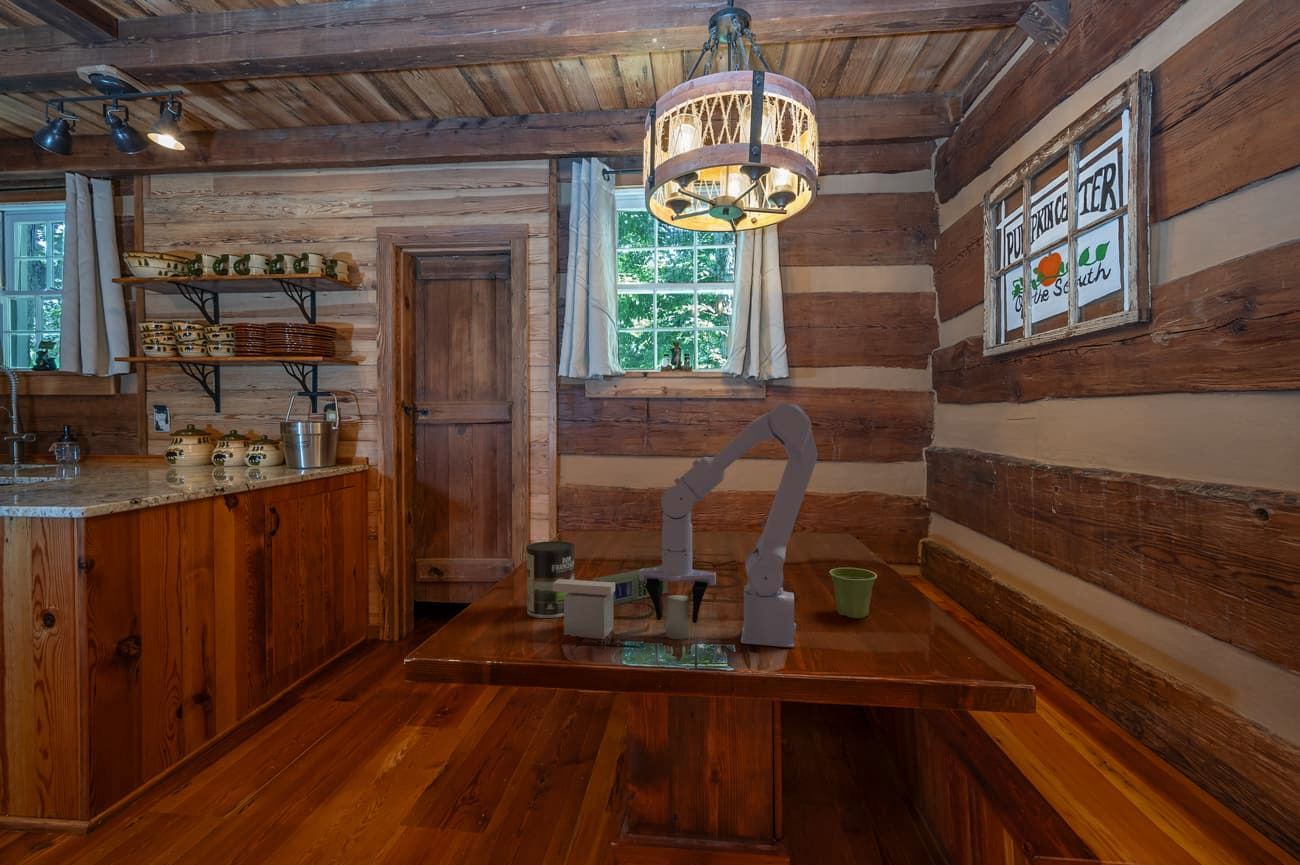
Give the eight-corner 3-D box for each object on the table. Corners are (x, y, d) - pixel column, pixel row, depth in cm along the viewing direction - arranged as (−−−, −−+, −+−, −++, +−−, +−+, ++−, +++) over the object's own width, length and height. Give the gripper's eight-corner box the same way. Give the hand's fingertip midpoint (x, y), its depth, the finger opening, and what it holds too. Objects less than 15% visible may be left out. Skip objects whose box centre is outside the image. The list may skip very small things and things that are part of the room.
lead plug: (690, 631, 109) (690, 595, 108) (686, 640, 104) (686, 602, 104) (668, 630, 110) (668, 594, 109) (663, 638, 105) (663, 601, 105)
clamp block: (613, 627, 111) (613, 589, 111) (604, 638, 105) (604, 599, 105) (575, 624, 113) (575, 587, 113) (564, 635, 107) (563, 596, 107)
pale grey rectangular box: (615, 590, 109) (615, 582, 109) (610, 595, 106) (610, 586, 106) (558, 587, 112) (558, 579, 112) (552, 591, 109) (552, 583, 109)
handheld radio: (669, 594, 134) (578, 616, 118) (661, 591, 136) (570, 612, 121) (669, 566, 134) (578, 584, 119) (660, 564, 136) (570, 581, 121)
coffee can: (584, 609, 122) (584, 544, 122) (549, 622, 114) (549, 553, 114) (552, 600, 129) (551, 538, 128) (516, 612, 120) (516, 546, 120)
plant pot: (884, 621, 114) (884, 579, 114) (838, 621, 114) (838, 579, 114) (866, 606, 123) (866, 567, 123) (823, 607, 123) (823, 567, 123)
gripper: (635, 551, 104) (635, 623, 105) (712, 555, 101) (712, 630, 101) (644, 543, 111) (644, 611, 111) (717, 546, 108) (717, 617, 108)
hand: (677, 619), depth 107 cm, fingers open, 6 cm apart
